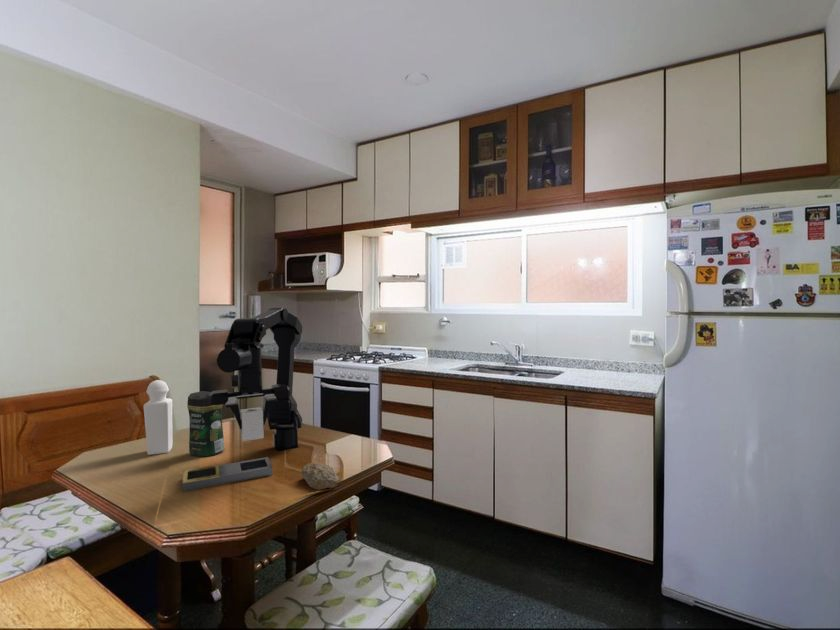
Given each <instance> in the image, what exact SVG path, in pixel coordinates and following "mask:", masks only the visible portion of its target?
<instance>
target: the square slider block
mask: <svg viewBox="0 0 840 630" xmlns="http://www.w3.org/2000/svg"><path fill="white" fill-rule="evenodd" d="M239 411H240V417H241V422H242V429H240V431H241V432H240V433H241V440H242V442H247V441H253V440H259V439H264V438H265V434H264V426H263V408H262V407H261V406H260V407H251V408H250V407H249V408H243V409H242V408H241V409H239Z"/></svg>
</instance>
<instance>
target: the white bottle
mask: <svg viewBox="0 0 840 630" xmlns="http://www.w3.org/2000/svg"><path fill="white" fill-rule="evenodd" d="M169 391H170V388H169V387H168V384H167V383H166V382H165V381H164V380H162V379H161V380H160V379H156V380H153V381H151V382H150V383H149V385H148V386H147V388H146V391H145V393H146V394H147V395H148V397H149V400H148V401H147V402H146V403H144V404H143V414H144V415H143V416H144V427H145V440H146V450H147V455H148V456H150V455H151V456H153V455H159V454H161V455H162V454H167V453H169V452H170V451H171V450H172V448H173V399H172V398H167V395H168V392H169Z"/></svg>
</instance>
